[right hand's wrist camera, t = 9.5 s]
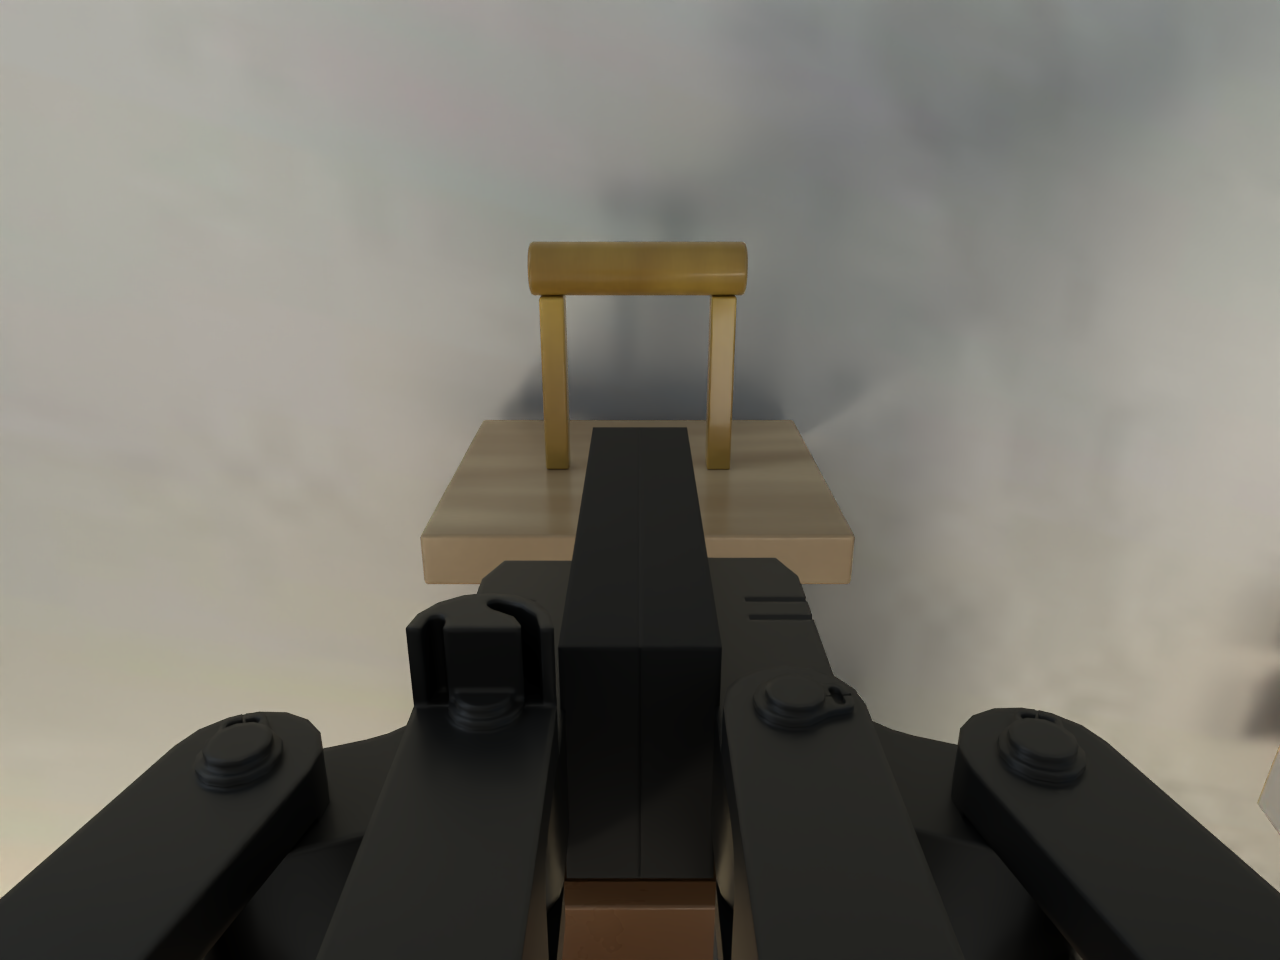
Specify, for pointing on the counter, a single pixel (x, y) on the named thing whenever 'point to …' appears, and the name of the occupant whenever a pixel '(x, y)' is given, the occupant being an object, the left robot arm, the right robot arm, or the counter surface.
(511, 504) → the drawer
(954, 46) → the counter surface
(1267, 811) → the white and red box
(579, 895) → the cabinet
